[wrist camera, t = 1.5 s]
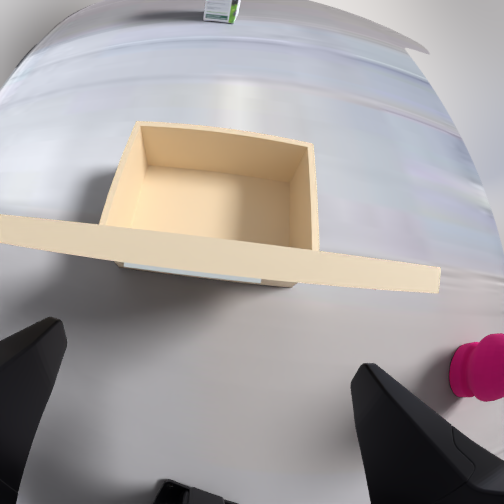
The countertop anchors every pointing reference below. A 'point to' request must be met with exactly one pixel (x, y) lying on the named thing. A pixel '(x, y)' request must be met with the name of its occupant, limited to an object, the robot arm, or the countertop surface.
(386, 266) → the lid
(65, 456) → the countertop surface
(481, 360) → the pepper mill
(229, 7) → the syrup box
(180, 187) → the carton
